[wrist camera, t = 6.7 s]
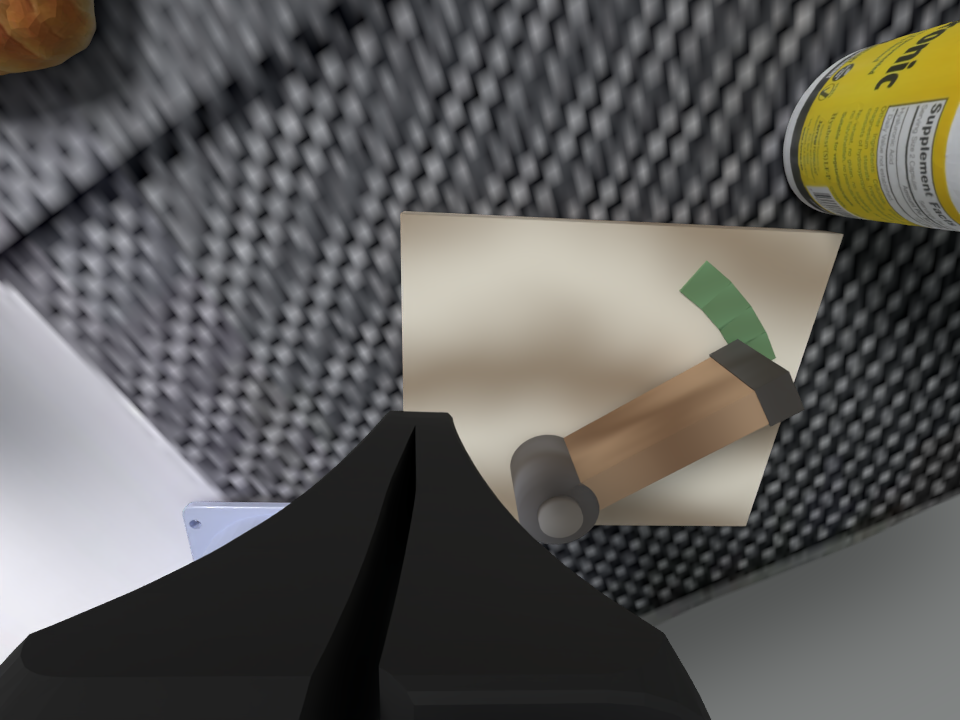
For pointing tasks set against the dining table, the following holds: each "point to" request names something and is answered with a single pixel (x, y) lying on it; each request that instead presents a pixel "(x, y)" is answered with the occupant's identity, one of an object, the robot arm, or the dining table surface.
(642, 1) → the dining table surface
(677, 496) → the dial board
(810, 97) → the supplement bottle
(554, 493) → the pointer lever
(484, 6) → the dining table surface
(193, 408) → the dining table surface
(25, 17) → the pastry
